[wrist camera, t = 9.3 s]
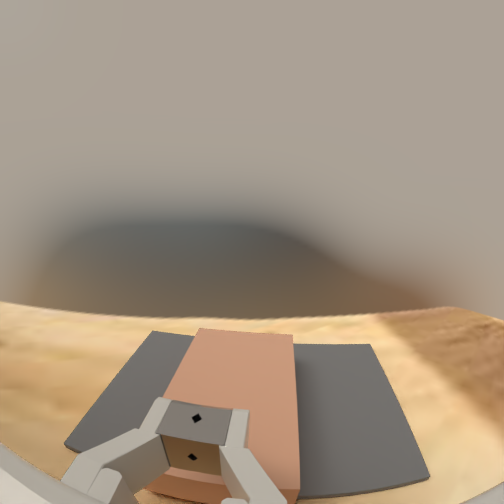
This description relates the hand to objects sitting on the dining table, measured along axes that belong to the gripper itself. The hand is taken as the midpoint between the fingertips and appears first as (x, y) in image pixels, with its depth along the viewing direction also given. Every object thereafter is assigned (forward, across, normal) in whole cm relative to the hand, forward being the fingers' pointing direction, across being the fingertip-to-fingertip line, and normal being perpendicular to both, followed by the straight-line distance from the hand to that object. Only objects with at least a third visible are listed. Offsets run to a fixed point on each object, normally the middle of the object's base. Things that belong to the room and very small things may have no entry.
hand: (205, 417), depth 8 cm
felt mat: (+8, -1, +6) cm, 10 cm away
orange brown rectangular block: (-1, 0, +5) cm, 5 cm away
